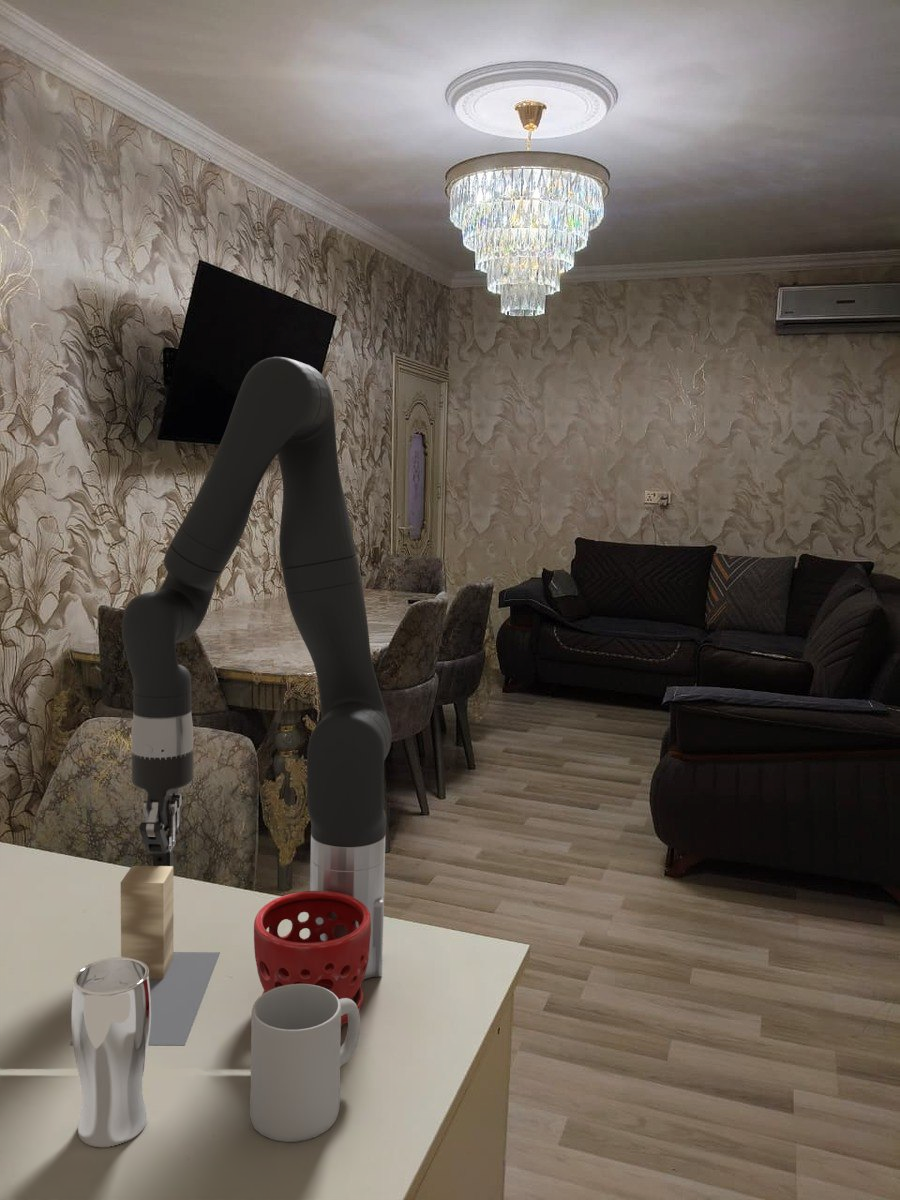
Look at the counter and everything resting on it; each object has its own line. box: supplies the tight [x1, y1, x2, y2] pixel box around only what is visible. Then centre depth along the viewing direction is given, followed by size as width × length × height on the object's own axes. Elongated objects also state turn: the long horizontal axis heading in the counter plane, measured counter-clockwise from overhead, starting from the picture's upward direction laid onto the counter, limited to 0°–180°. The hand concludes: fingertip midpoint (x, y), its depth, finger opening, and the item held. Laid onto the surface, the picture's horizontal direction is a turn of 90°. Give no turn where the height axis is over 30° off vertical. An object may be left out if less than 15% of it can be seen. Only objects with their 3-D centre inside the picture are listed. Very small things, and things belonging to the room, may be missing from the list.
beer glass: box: [70, 956, 151, 1148], centre depth 88 cm, size 7×7×15 cm
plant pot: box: [253, 890, 371, 1027], centre depth 108 cm, size 13×13×12 cm
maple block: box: [120, 865, 174, 979], centre depth 116 cm, size 5×5×12 cm
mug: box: [249, 984, 361, 1143], centre depth 92 cm, size 12×8×11 cm
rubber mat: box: [69, 951, 221, 1046], centre depth 111 cm, size 12×20×1 cm, turn 3°
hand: (162, 877), depth 123 cm, fingers closed
